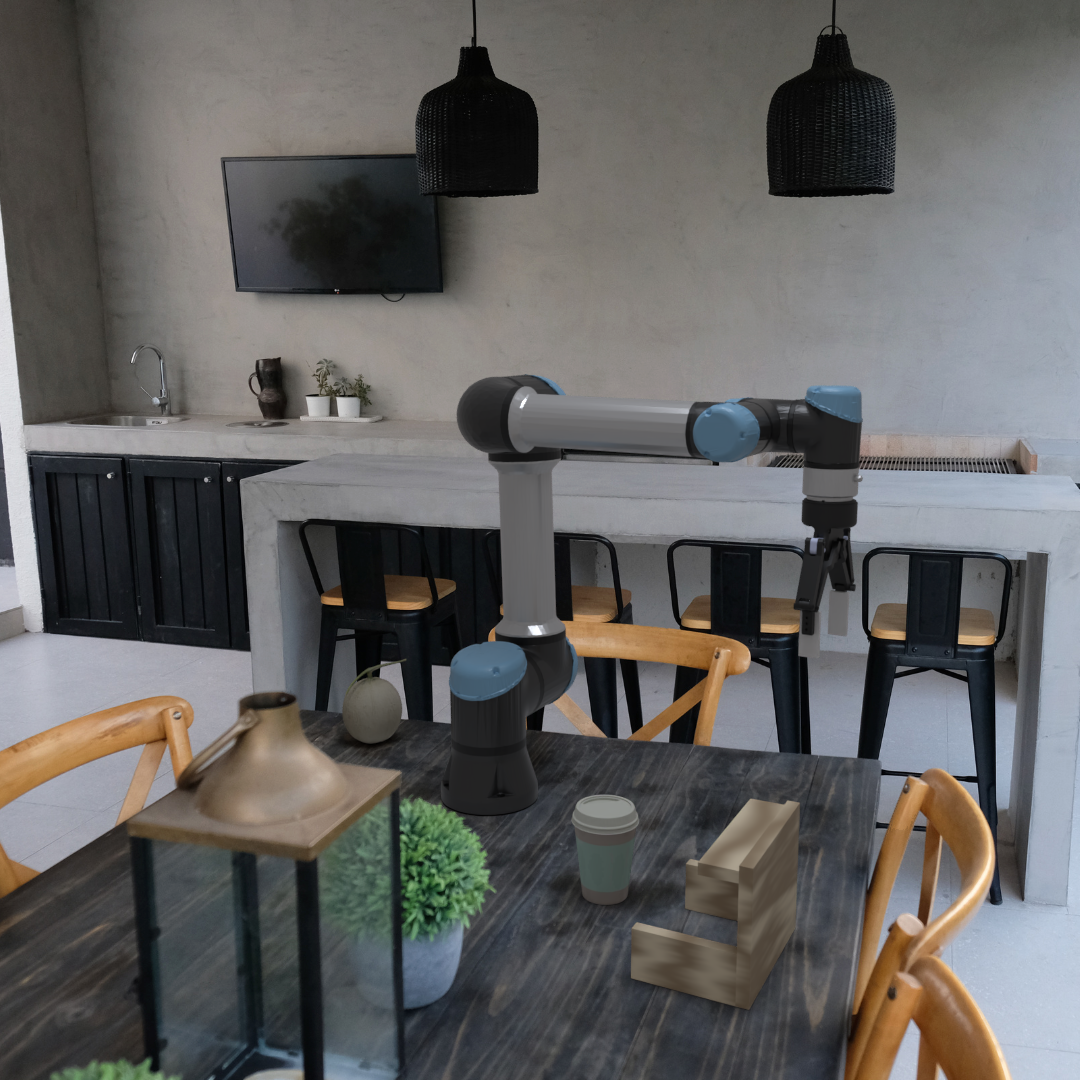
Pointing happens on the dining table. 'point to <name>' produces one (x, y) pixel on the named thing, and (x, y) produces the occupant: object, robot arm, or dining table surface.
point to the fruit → (372, 707)
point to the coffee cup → (605, 846)
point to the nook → (731, 910)
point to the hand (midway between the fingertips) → (823, 645)
